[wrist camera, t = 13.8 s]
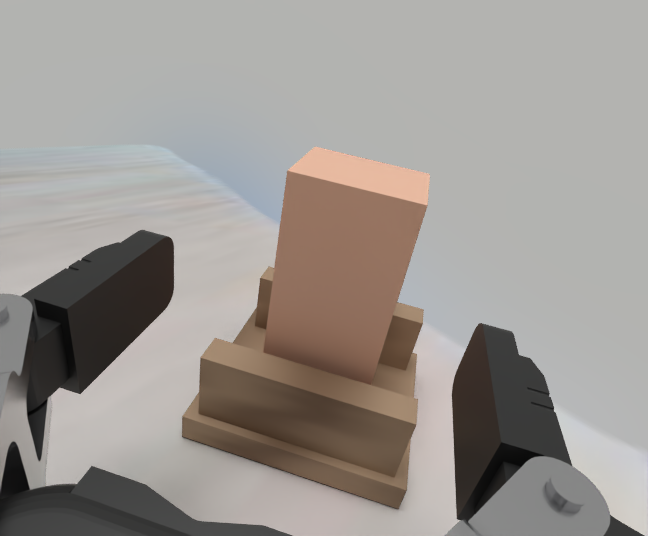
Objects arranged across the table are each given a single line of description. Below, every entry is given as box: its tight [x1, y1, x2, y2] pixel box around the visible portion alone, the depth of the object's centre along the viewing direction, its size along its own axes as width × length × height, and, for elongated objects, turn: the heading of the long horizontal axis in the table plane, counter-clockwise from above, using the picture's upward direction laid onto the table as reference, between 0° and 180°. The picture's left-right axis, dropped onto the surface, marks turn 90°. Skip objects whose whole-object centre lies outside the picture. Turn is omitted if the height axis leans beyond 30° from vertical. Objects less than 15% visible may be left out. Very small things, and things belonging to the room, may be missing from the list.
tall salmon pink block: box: [263, 147, 430, 385], centre depth 17 cm, size 4×4×10 cm
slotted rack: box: [182, 267, 424, 509], centre depth 20 cm, size 9×8×4 cm
